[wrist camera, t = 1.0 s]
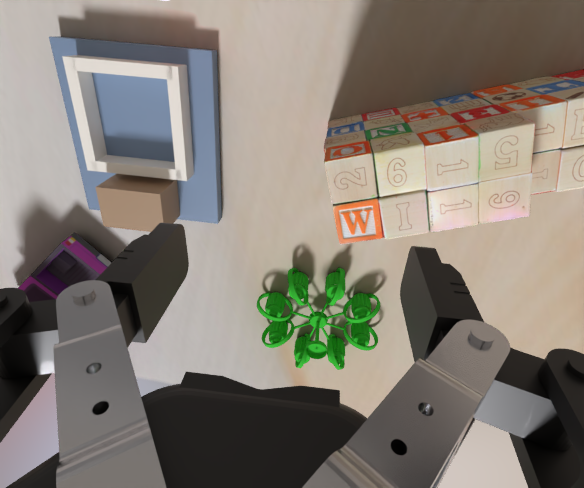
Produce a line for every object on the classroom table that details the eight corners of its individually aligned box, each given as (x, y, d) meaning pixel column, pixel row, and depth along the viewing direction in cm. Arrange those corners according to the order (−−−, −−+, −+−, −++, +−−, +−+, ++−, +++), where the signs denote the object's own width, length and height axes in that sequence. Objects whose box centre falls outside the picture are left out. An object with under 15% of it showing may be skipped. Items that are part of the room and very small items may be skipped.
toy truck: (14, 286, 48) (-56, 341, 39) (75, 221, 42) (7, 270, 33) (82, 335, 51) (31, 396, 43) (147, 282, 45) (103, 341, 37)
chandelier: (403, 282, 42) (415, 324, 36) (351, 365, 49) (353, 412, 43) (279, 239, 40) (269, 275, 34) (245, 331, 48) (232, 374, 42)
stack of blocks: (591, 64, 29) (737, 83, 18) (579, 141, 32) (699, 196, 21) (326, 120, 33) (322, 162, 23) (337, 184, 36) (338, 247, 26)
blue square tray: (60, 36, 32) (12, 37, 27) (216, 50, 31) (195, 53, 26) (97, 203, 40) (65, 226, 35) (221, 217, 39) (206, 242, 35)
